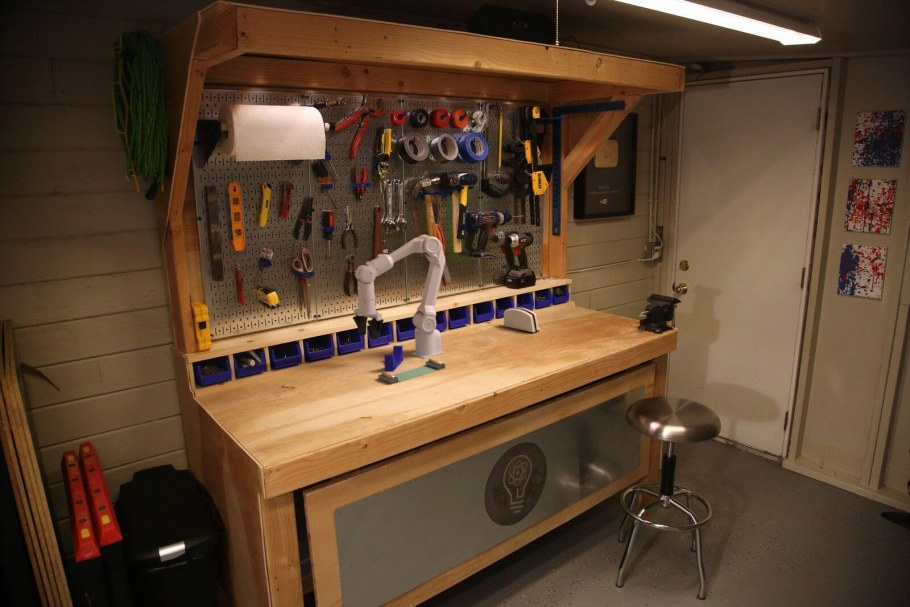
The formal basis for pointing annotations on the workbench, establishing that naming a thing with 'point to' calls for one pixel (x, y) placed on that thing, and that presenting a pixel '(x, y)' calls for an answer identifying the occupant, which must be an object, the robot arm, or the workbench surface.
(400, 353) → the blue curved cradle
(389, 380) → the block
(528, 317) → the white rounded dark-edged part
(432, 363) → the chain end
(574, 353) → the workbench surface
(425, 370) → the pad
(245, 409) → the workbench surface
